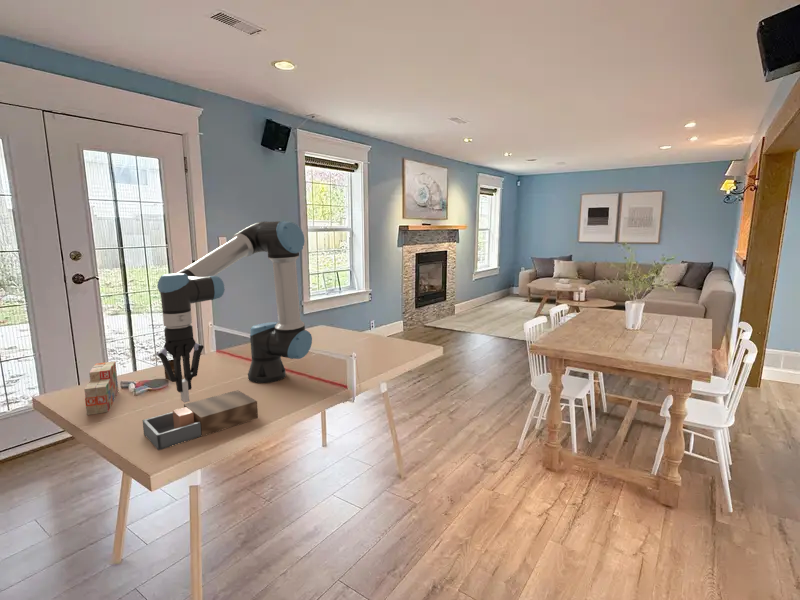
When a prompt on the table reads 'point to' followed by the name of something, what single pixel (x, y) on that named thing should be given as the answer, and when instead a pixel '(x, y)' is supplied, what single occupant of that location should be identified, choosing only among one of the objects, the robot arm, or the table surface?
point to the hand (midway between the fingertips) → (185, 400)
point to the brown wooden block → (223, 411)
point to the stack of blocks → (101, 388)
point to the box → (168, 431)
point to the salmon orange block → (182, 417)
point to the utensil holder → (171, 367)
